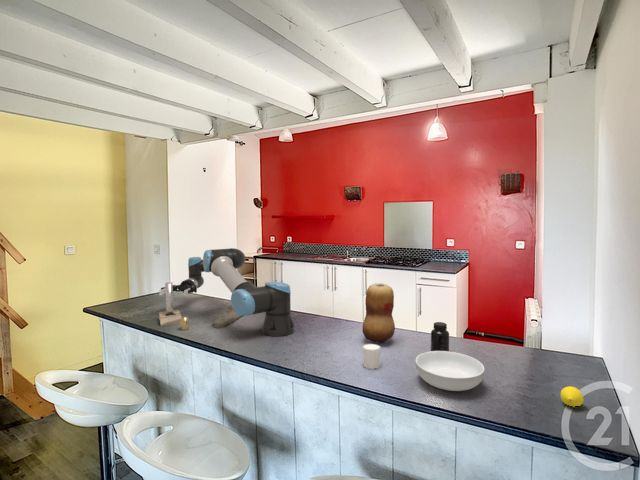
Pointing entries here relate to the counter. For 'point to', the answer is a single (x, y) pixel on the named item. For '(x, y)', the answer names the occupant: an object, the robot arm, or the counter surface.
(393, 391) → the counter surface
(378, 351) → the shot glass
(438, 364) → the serving bowl
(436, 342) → the supplement bottle
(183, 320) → the brass stub pin
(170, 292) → the steel pin
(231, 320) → the elongated rock
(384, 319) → the butternut squash
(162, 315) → the guide block
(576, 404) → the lemon
